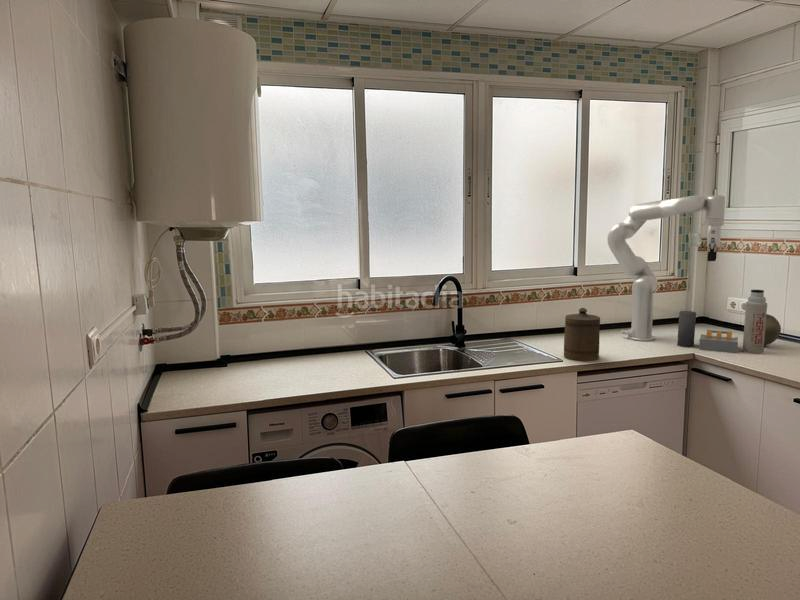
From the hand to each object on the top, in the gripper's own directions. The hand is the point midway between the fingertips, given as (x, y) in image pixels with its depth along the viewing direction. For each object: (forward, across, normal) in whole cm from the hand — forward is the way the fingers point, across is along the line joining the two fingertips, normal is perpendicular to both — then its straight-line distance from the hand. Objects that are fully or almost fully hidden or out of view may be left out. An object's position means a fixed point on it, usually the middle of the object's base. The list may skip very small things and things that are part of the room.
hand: (711, 260), depth 260 cm
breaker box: (+40, -4, -5) cm, 41 cm away
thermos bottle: (+40, -4, -19) cm, 45 cm away
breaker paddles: (+35, -4, -5) cm, 36 cm away
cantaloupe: (+40, +10, -22) cm, 47 cm away
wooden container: (+41, -48, +47) cm, 78 cm away
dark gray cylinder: (+40, -4, +9) cm, 41 cm away
